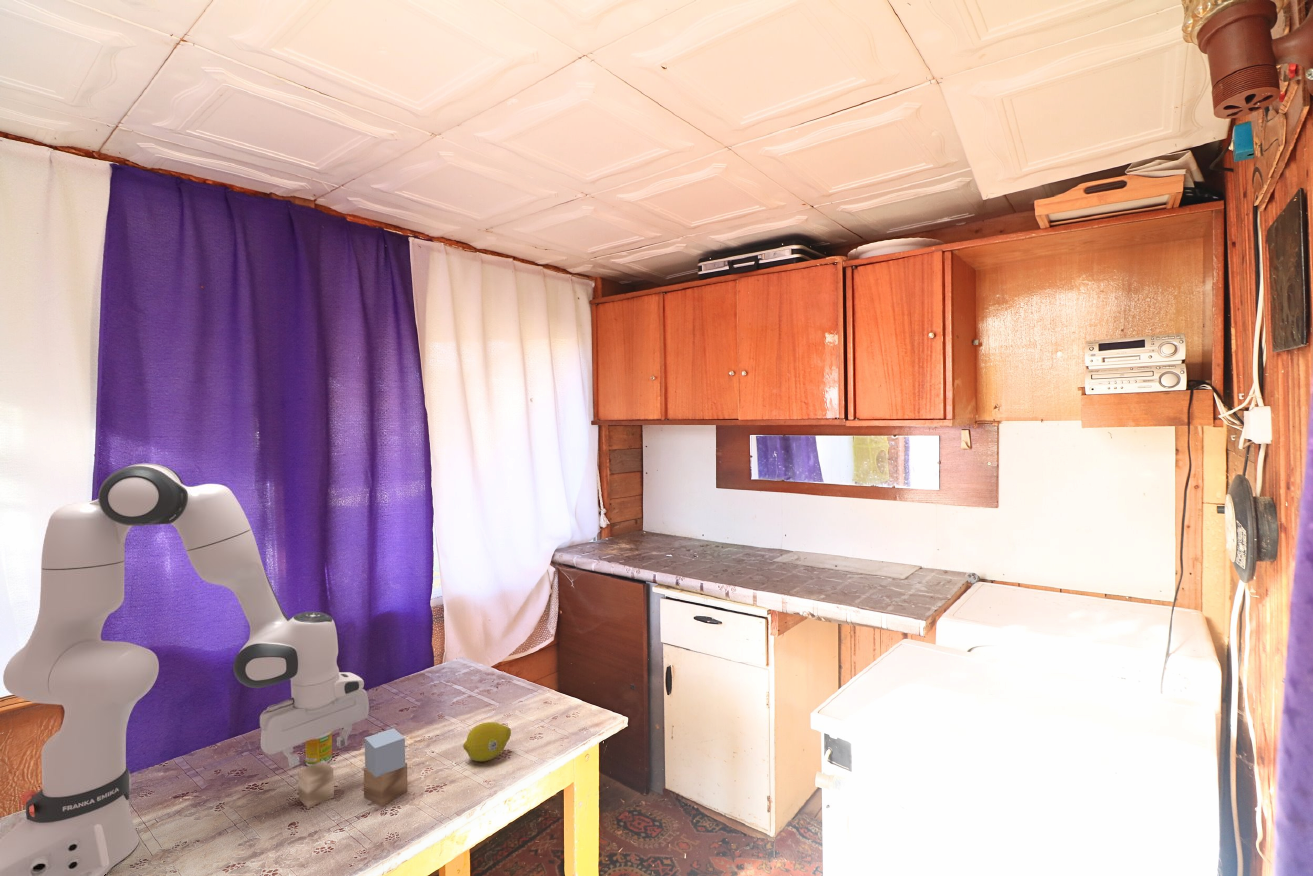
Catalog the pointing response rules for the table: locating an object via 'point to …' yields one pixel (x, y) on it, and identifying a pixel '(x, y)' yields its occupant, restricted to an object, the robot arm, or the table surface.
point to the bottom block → (385, 785)
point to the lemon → (486, 741)
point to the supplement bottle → (319, 749)
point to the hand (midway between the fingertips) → (318, 755)
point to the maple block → (316, 783)
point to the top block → (384, 752)
